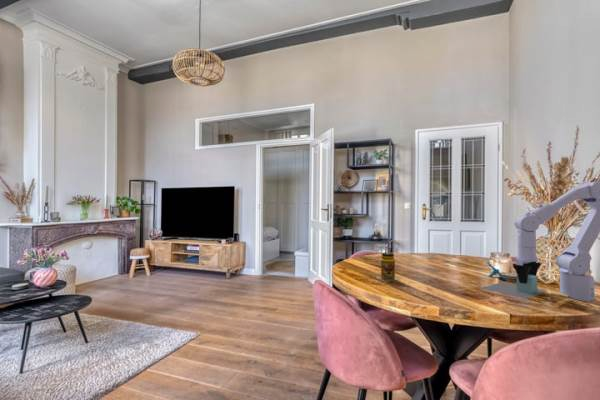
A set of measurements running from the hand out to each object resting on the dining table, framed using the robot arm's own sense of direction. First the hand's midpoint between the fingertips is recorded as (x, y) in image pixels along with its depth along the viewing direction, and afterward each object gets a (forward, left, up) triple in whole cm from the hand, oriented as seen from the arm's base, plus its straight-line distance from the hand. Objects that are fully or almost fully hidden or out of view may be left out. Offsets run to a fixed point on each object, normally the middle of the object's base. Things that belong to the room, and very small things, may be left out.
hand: (527, 281), depth 118 cm
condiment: (+46, +27, -5) cm, 54 cm away
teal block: (0, 0, -4) cm, 4 cm away
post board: (+4, +2, -5) cm, 7 cm away
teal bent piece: (+18, -16, -5) cm, 24 cm away
